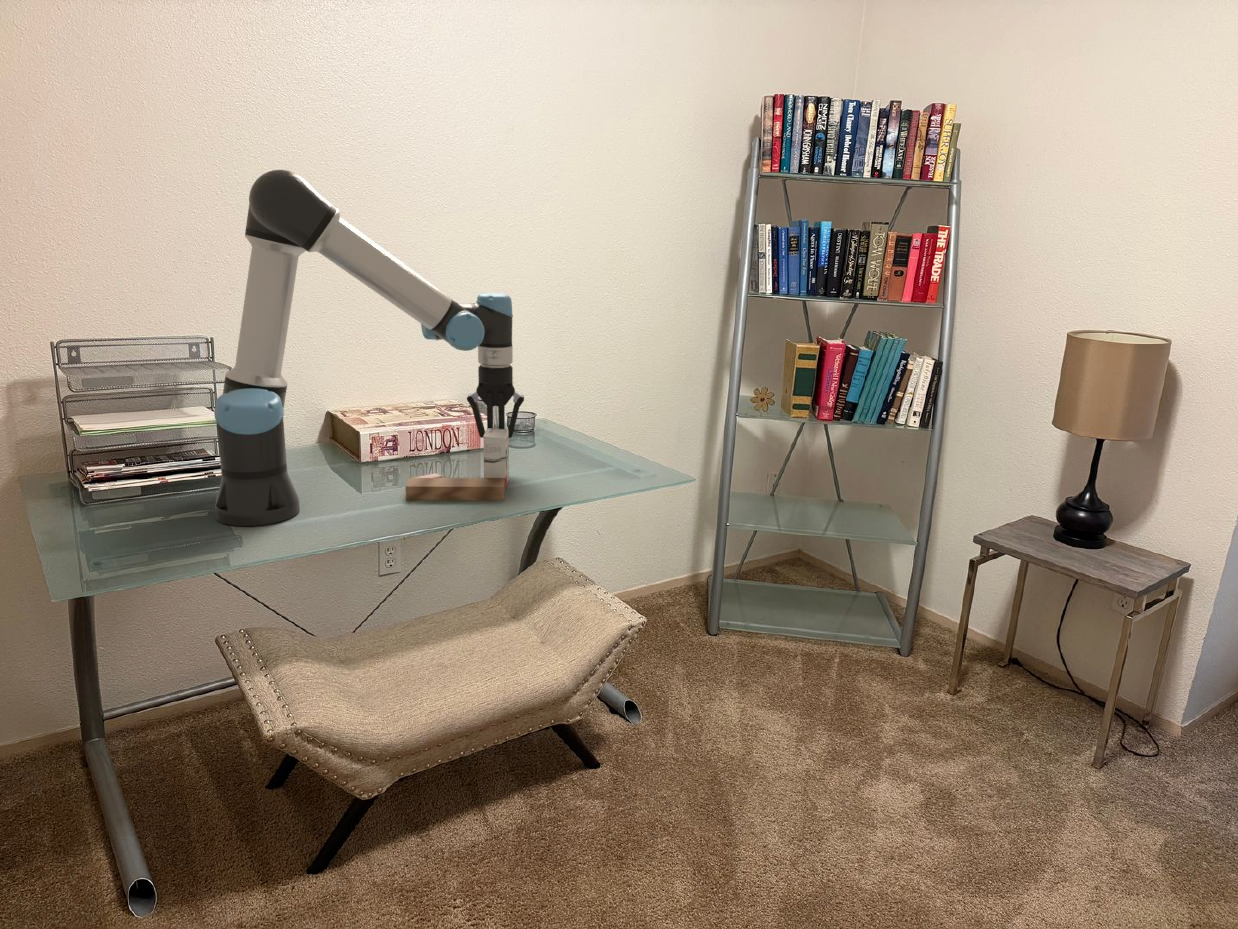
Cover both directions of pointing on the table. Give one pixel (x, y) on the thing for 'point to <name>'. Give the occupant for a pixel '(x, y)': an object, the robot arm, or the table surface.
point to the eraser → (430, 476)
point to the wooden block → (455, 489)
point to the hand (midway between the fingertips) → (496, 467)
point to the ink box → (496, 454)
